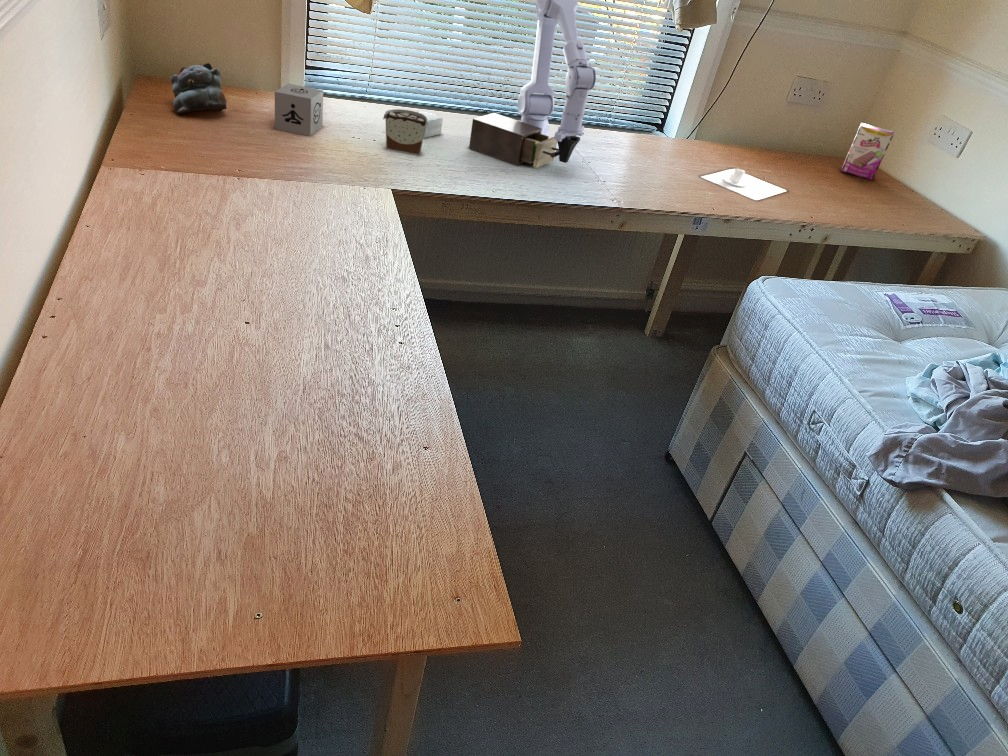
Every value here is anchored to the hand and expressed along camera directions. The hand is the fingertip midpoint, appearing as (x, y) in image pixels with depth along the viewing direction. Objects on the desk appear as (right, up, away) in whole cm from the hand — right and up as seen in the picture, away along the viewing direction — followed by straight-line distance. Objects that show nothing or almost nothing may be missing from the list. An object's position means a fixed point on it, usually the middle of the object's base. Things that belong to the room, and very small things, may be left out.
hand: (563, 161), depth 215 cm
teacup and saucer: (+58, -1, +22) cm, 62 cm away
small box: (-41, +12, +13) cm, 45 cm away
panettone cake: (-44, +3, -2) cm, 45 cm away
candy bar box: (+107, +10, +52) cm, 119 cm away
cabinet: (-17, +5, +9) cm, 20 cm away
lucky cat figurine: (-102, +13, -4) cm, 102 cm away
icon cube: (-74, +9, -2) cm, 75 cm away
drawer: (-10, +2, +5) cm, 11 cm away
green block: (-10, +3, +5) cm, 11 cm away
